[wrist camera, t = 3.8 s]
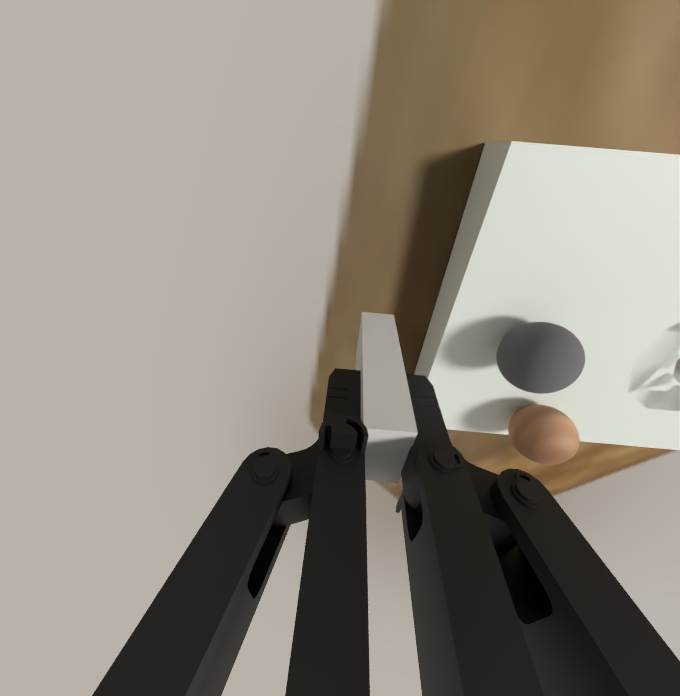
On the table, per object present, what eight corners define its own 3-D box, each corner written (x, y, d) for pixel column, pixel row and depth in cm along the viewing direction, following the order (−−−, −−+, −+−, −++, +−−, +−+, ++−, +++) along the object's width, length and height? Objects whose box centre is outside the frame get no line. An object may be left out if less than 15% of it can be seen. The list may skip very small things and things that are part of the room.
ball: (501, 306, 13) (538, 346, 11) (571, 312, 13) (626, 354, 11) (476, 359, 15) (501, 405, 13) (536, 364, 15) (574, 411, 13)
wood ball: (512, 390, 17) (543, 438, 14) (568, 395, 17) (610, 444, 14) (490, 425, 19) (513, 473, 16) (540, 430, 19) (571, 478, 16)
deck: (485, 142, 12) (511, 141, 10) (960, 181, 11) (1087, 188, 9) (406, 399, 21) (411, 426, 19) (664, 422, 21) (696, 451, 19)
